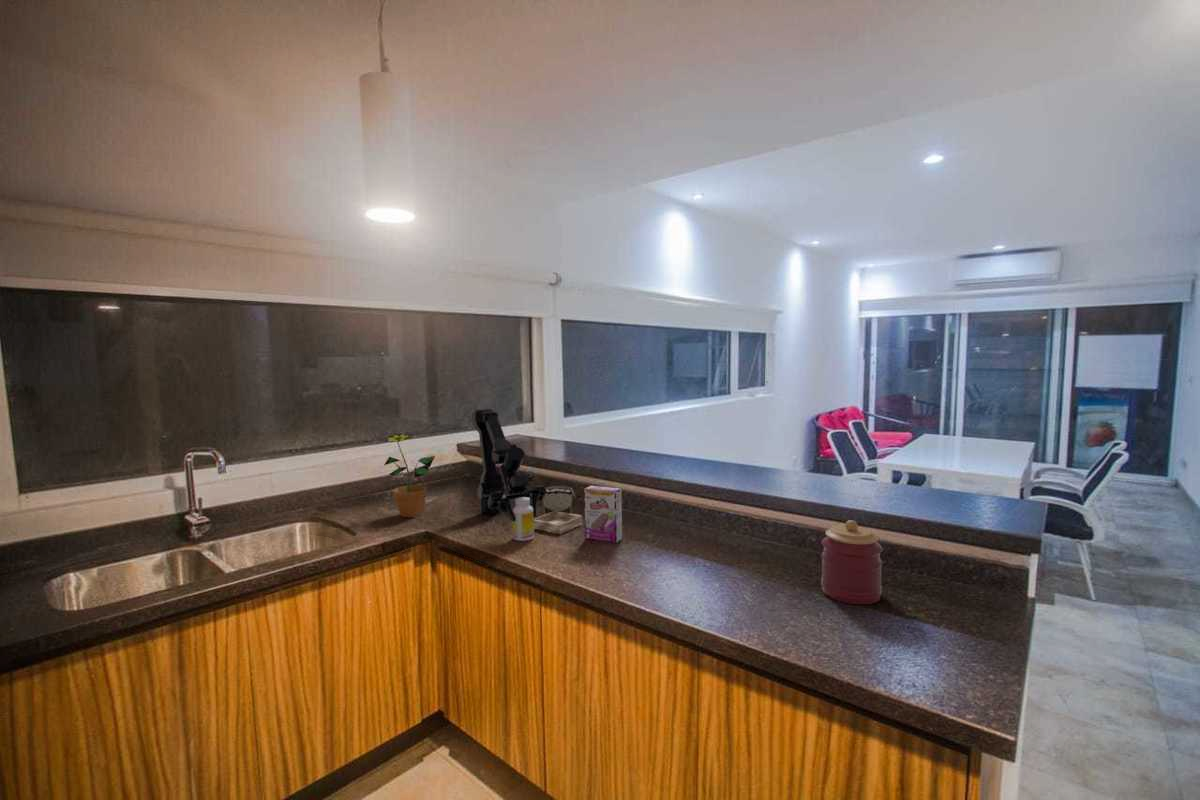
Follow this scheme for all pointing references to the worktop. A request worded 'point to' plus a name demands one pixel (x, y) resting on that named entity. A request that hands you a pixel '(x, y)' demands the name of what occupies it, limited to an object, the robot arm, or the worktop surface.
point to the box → (557, 522)
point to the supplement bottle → (523, 520)
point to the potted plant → (410, 495)
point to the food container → (558, 499)
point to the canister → (851, 564)
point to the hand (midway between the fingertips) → (524, 519)
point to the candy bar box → (603, 514)
